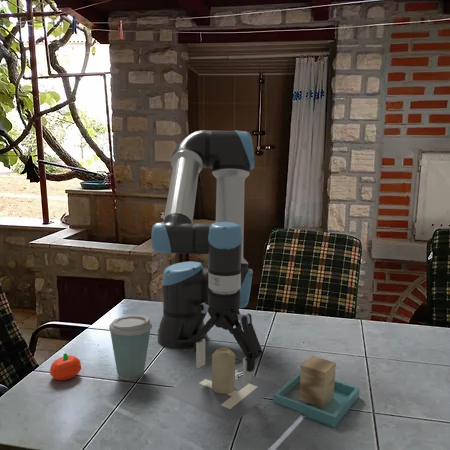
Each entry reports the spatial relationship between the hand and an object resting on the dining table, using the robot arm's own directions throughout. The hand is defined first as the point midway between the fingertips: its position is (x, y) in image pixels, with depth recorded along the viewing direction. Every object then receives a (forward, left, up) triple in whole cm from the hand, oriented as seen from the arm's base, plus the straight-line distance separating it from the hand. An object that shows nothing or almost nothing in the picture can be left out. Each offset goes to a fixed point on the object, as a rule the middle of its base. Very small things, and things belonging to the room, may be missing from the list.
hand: (222, 374), depth 112 cm
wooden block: (+20, +10, -4) cm, 23 cm away
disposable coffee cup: (-24, -7, -5) cm, 25 cm away
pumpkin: (-36, -18, -5) cm, 41 cm away
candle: (0, 0, -4) cm, 4 cm away
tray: (+20, +10, -5) cm, 23 cm away
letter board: (0, 0, -5) cm, 5 cm away
